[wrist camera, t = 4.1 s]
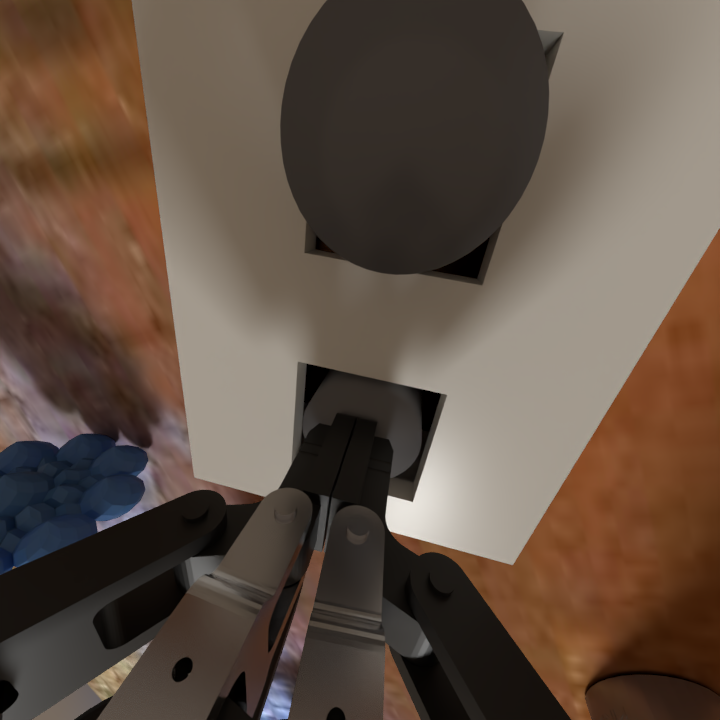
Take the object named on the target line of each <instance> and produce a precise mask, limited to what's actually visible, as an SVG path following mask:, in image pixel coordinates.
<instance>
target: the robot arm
mask: <svg viewBox="0 0 720 720" xmlns="http://www.w3.org/2000/svg"><path fill="white" fill-rule="evenodd" d="M356 420H357V422H356ZM376 427H377V422H376V421H372V420H367V419H363V418H359V417H358V419H357V417H354V416H350V415H345V414H341V413H337V414H336V416H335V418H334V420H333V423H332V425H331V426H330V425H326V424H321V423H319V424H318V425H316V426H315V427H314V428H312V429H311V430H310V431H309V432H308V434H307V436H306V438H305V440H304V443H303V444H302V446H301V447H300V449H299V452H298V453H297V455H296V457H295V459H294V461H293V463H292V464H291V466H290V468H289V470H288V472H287V474H286V476H285V478H284V480H283V481H282V483H281V485H280V487H279V488H278V490H275V491H273V492H271V493H270V494H268V495H267V496H266V497H265V498H264V499H263V500H262V501H260V502H258V503H253V504H242V505H226V502H225V500H224V498H223V497H222V496H221V495H220V494H219V493H217V492H215V491H211V490H198V491H194V492H191V493H188V494H185V495H183V496H181V497H179V498H176V499H174V500H172V501H169V502H167V503H165V504H162V505H160V506H158V507H155V508H153V509H151V510H149V511H146V512H144V513H142V514H139V515H137V516H135V517H132V518H130V519H128V520H126V521H123V522H121V523H119V524H116V525H114V526H112V527H109V528H107V529H105V530H102V531H100V532H98V533H96V534H93V535H91V536H89V537H86V538H84V539H82V540H79V541H77V542H75V543H72V544H70V545H68V546H66V547H63V548H61V549H59V550H56V551H54V552H52V553H49V554H47V555H45V556H43V557H40V558H38V559H36V560H33V561H31V562H29V563H26V564H24V565H22V566H19V567H17V568H15V569H13V570H10V571H8V572H6V573H3V574H1V575H0V720H32V719H33V718H35V717H37V716H38V715H40V714H41V713H42V712H44V711H46V710H47V709H49V708H50V707H52V706H53V705H55V704H56V703H58V702H59V701H61V700H62V699H64V698H65V697H67V696H68V695H70V694H71V693H73V692H74V691H76V690H77V689H79V688H80V687H82V686H83V685H85V684H86V683H88V682H89V681H91V680H92V679H94V678H95V677H97V676H98V675H100V674H101V673H103V672H104V671H106V670H107V669H109V668H111V667H112V666H114V665H115V664H117V663H118V662H120V661H121V660H123V659H124V658H126V657H127V656H129V655H130V654H132V653H133V652H135V651H136V650H138V649H139V648H141V647H142V646H144V645H145V644H147V643H148V642H150V641H151V640H153V641H152V642H151V643H150V645H149V646H148V648H147V649H146V651H145V652H144V653H143V655H142V656H141V658H140V659H139V660H138V662H137V663H136V665H135V666H134V668H133V669H132V670H131V672H130V673H129V675H128V676H127V677H126V679H125V680H124V682H123V683H122V685H121V686H120V687H119V689H118V690H117V692H116V693H115V694H114V696H112V697H110V698H107V699H105V700H104V701H102V702H100V703H99V704H97V705H96V706H94V707H92V708H90V709H89V710H87V711H86V712H84V713H83V714H82V715H80V716H79V717H77V718H76V719H75V720H255V719H253V718H252V717H253V714H254V712H255V709H256V707H257V704H258V702H259V699H260V696H261V694H262V691H263V688H264V685H265V681H266V678H267V674H268V670H269V667H270V663H271V660H272V657H273V655H274V652H275V650H276V647H277V645H278V642H279V640H280V637H281V635H282V632H283V630H284V627H285V625H286V622H287V620H288V618H289V615H290V613H291V610H292V608H293V605H294V603H295V600H296V598H297V595H298V593H299V590H300V588H301V586H302V583H303V581H304V578H305V574H306V571H307V568H308V566H309V563H310V560H311V557H312V553H313V550H317V551H321V552H322V549H323V546H324V543H325V548H324V552H325V556H324V560H323V565H322V570H321V574H320V579H319V584H318V588H317V593H316V598H315V602H314V607H313V611H312V613H311V617H310V621H309V625H308V629H307V634H306V638H305V643H304V648H303V652H302V657H301V661H300V666H299V671H298V675H297V680H296V685H295V689H294V694H293V698H292V703H291V708H290V712H289V717H288V719H282V720H383V700H384V667H385V642H386V643H387V644H388V645H389V648H390V651H391V654H392V657H393V659H394V661H395V663H396V665H397V668H398V670H399V672H400V674H401V677H402V679H403V681H404V683H405V685H406V688H407V690H408V692H409V694H410V696H411V699H412V701H413V703H414V705H415V708H416V710H417V712H418V714H419V716H420V719H421V720H571V719H570V718H569V716H568V715H567V713H566V712H565V711H564V709H563V708H562V706H561V705H560V704H559V702H558V701H557V700H556V698H555V697H554V695H553V694H552V693H551V691H550V690H549V689H548V687H547V686H546V684H545V683H544V682H543V680H542V679H541V678H540V676H539V675H538V673H537V672H536V671H535V669H534V668H533V667H532V665H531V664H530V662H529V661H528V660H527V658H526V657H525V656H524V654H523V653H522V651H521V650H520V649H519V647H518V646H517V645H516V643H515V642H514V640H513V639H512V638H511V636H510V635H509V634H508V632H507V631H506V629H505V628H504V627H503V625H502V624H501V622H500V621H499V620H498V618H497V617H496V616H495V614H494V613H493V611H492V610H491V609H490V607H489V606H488V605H487V603H486V602H485V600H484V599H483V598H482V596H481V595H480V594H479V592H478V591H477V589H476V588H475V587H474V585H473V584H472V583H471V581H470V580H469V578H468V577H467V576H466V574H465V573H464V572H463V570H462V569H461V568H460V567H459V565H458V564H456V563H455V562H454V561H453V560H452V559H450V558H449V557H447V556H445V555H442V554H440V553H434V552H429V553H425V554H422V555H420V556H418V555H416V554H415V553H413V552H412V551H410V550H408V549H407V548H405V547H404V546H402V545H401V544H400V543H399V542H398V541H397V540H396V539H395V538H394V537H393V536H392V534H391V533H390V531H389V529H388V527H387V524H386V518H385V516H386V506H387V498H388V491H389V483H390V474H391V467H392V460H393V452H394V451H393V448H392V446H391V443H390V441H389V439H385V438H381V437H377V436H375V432H376ZM325 539H326V541H325ZM585 699H586V703H587V707H588V710H589V713H590V716H591V719H592V720H720V696H719V695H717V694H716V693H714V692H712V691H711V690H709V689H707V688H705V687H703V686H700V685H698V684H695V683H692V682H689V681H686V680H682V679H677V678H672V677H667V676H657V675H626V676H618V677H614V678H609V679H606V680H603V681H601V682H598V683H597V684H595V685H593V686H592V687H591V688H590V689H589V690H588V691H587V693H586V697H585Z"/></svg>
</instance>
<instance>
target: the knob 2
mask: <svg viewBox="0 0 720 720" xmlns="http://www.w3.org/2000/svg"><path fill="white" fill-rule="evenodd" d="M337 413H341V414H345V415H350V416H354V417H357V419H358V417H359V418H363V419H367V420H372V421H376V422H377V427H376V432H375V436H377V437H381V438H385V439H389V441H390V443H391V446H392V448H393V451H394V452H393V460H392V467H391V474H390V478H393V477H395V476H397V475H399V474H401V473H403V472H404V471H406V470H407V469H408V468H409V467H410V466H411V465H412V464H413V463H414V461H415V460H416V458H417V456H418V454H419V452H420V448H421V439H422V389H419V388H414V387H410V386H405V385H401V384H396V383H392V382H387V381H383V380H378V379H374V378H369V377H365V376H360V375H356V374H351V373H347V372H342V371H338V370H334V369H330V370H329V372H328V373H327V375H326V376H325V378H324V380H323V381H322V383H321V385H320V386H319V388H318V389H317V391H316V393H315V394H314V396H313V397H312V399H311V401H310V402H309V404H308V406H307V408H306V410H305V412H304V415H303V422H302V428H303V434H304V438H306V436H307V434H308V432H309V431H310V430H311V429H312V428H314V427H315V426H316V425H318V424H319V423H321V424H326V425H330V426H331V425H332V423H333V420H334V418H335V416H336V414H337ZM356 422H357V420H356Z"/></svg>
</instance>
